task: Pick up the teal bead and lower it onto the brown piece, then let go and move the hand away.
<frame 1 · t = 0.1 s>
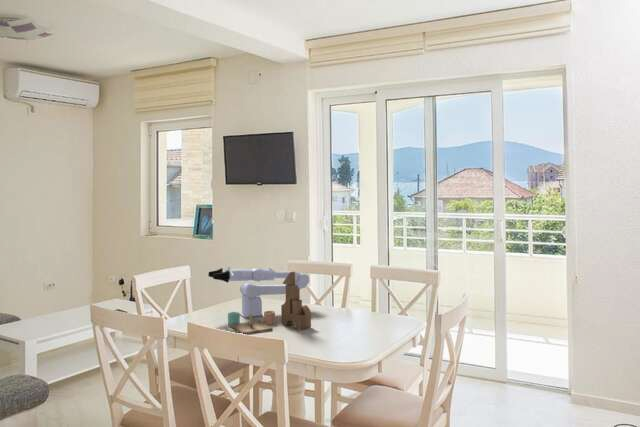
hand: (210, 275, 236), 22 cm above the table, tool horizontal, fingers open, 7 cm apart
brown piece: (251, 328, 221), on the table
teal bead: (233, 323, 230), on the table
terracotta bead: (269, 322, 231), on the table
wooden toy: (295, 326, 225), on the table
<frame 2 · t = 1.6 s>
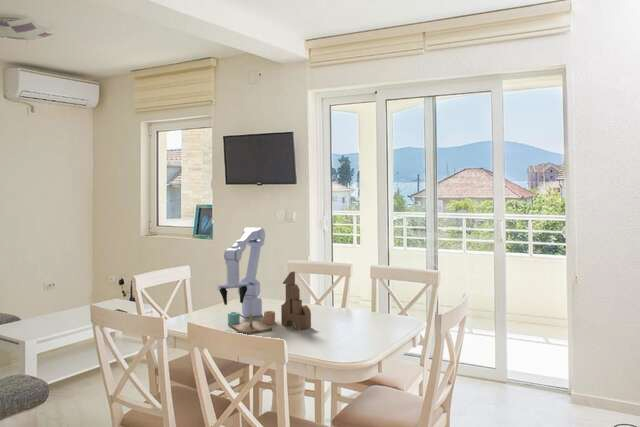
hand: (233, 303, 230), 9 cm above the table, tool pointing down, fingers open, 7 cm apart
nothing on the table moved.
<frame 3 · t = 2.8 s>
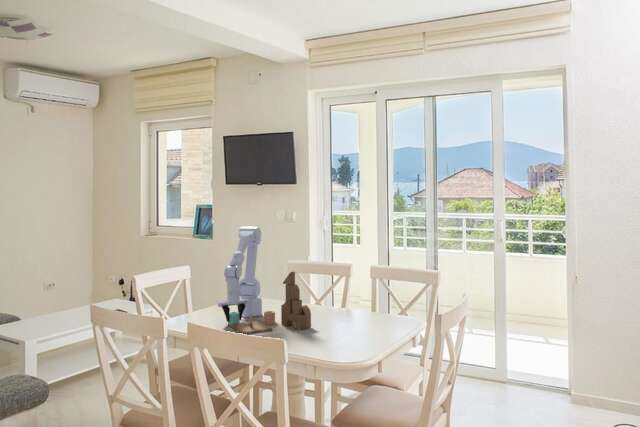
hand: (233, 320, 230), 1 cm above the table, tool pointing down, fingers closed on teal bead, 5 cm apart
teal bead: (233, 323, 230), on the table, touching gripper
everything else where it was.
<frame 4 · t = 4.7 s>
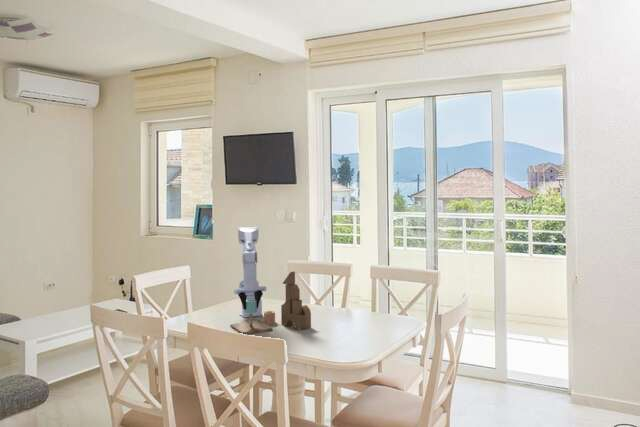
hand: (250, 308, 221), 9 cm above the table, tool pointing down, fingers closed on teal bead, 5 cm apart
teal bead: (250, 311, 221), point 7 cm above the table, touching gripper
everything else where it was.
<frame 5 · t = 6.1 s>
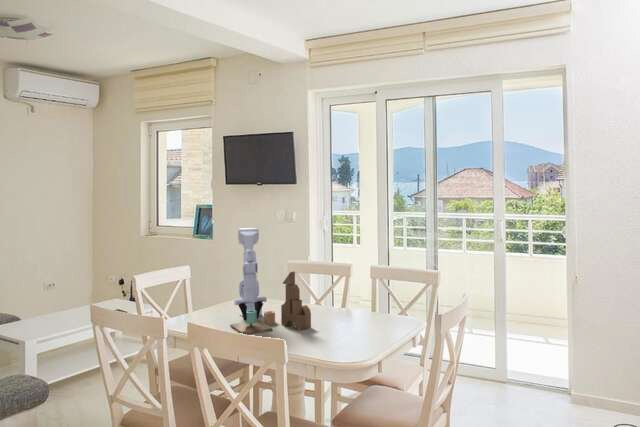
hand: (250, 319, 221), 4 cm above the table, tool pointing down, fingers closed on teal bead, 5 cm apart
teal bead: (251, 322, 221), point 3 cm above the table, touching gripper
everything else where it was.
when the fingers open (3 cm above the table, at t = 6.8 s): teal bead stays where it is, resting on brown piece.
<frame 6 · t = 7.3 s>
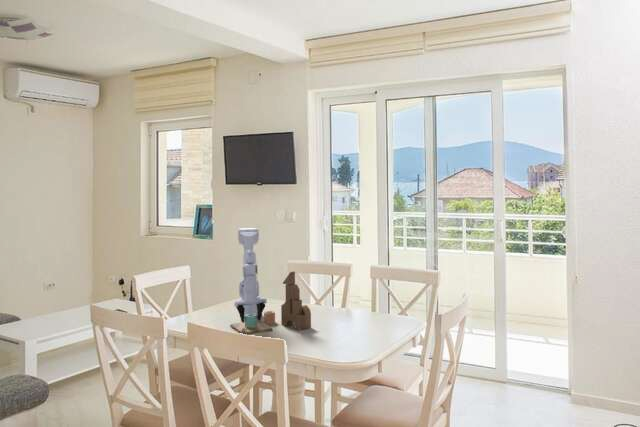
hand: (250, 320, 221), 3 cm above the table, tool pointing down, fingers open, 7 cm apart
teal bead: (251, 326, 221), point 1 cm above the table, touching brown piece
everything else where it was.
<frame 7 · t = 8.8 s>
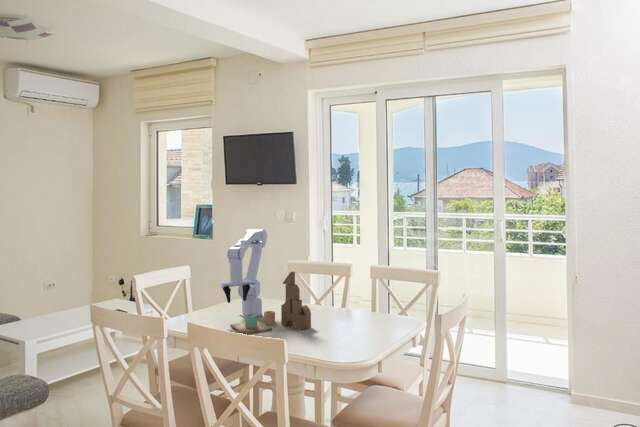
hand: (236, 301, 232), 10 cm above the table, tool pointing down, fingers open, 7 cm apart
nothing on the table moved.
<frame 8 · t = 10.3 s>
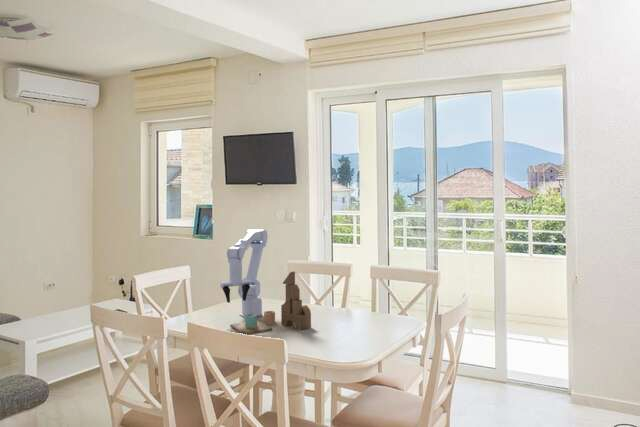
hand: (236, 301, 232), 10 cm above the table, tool pointing down, fingers open, 7 cm apart
nothing on the table moved.
at the end: teal bead 0.0 cm off-centre on the brown piece, point 1.0 cm above the brown piece's base; the gripper is holding nothing; teal bead tilted 0° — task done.
